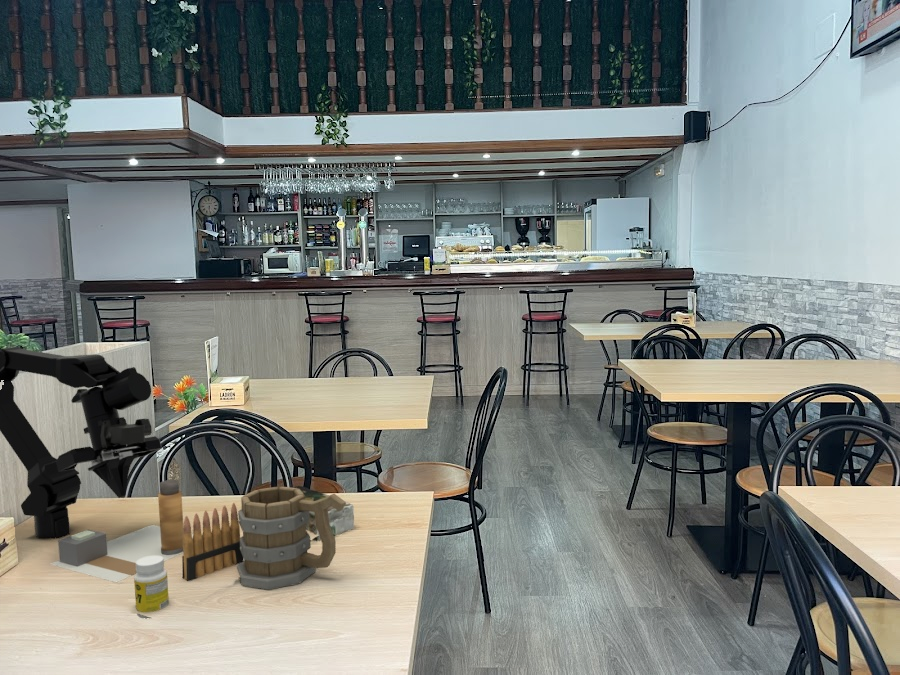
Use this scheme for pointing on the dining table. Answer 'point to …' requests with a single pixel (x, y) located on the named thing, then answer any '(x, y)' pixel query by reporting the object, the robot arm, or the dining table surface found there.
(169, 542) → the tan cylinder
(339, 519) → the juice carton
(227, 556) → the ammunition clip
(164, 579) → the supplement bottle
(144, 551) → the floor panel
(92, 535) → the grey cube-like block
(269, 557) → the tankard
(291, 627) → the dining table surface
